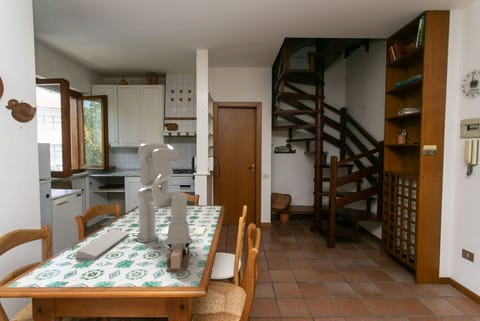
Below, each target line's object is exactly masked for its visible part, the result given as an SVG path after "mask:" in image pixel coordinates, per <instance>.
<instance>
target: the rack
mask: <svg viewBox="0 0 480 321" xmlns="http://www.w3.org/2000/svg"><path fill="white" fill-rule="evenodd" d="M190 250H191V248H190V246H188V247H187V248H186V255H185V256H184V258H183V260H182V263H181V266H180V268H178V269H171V254H172V250H171V249H170V254H168V255H167V258H166V269H165V271H166V272H186V271H187V269H188V265H189V261H190V258H191V257H190V256H191V251H190Z"/></svg>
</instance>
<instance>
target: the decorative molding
mask: <svg viewBox="0 0 480 321" xmlns="http://www.w3.org/2000/svg"><path fill="white" fill-rule="evenodd" d="M129 233H130V232H126V231H122V230H121V229H120V230H119V229H116V228H113V229H111V230H109V231H108V232H106V233H105V234H102V235H101V236H100V237H97V238H96V239H94V240H93V241H91V242H89V243H87V244H86V245H84V246H82V247H81V248H79V249H78V250H77V251H76V255H75V259H76V258H79V259H78V260H81V259H82V260H83V259H85V260H86V259H87V260H96V259H97V258H99V257H100V256H102V254H104V253H105V252H108V250H110V249H111V248H112V247H114V246H115V245H117V244H119V242H121V241H122V240H124V239H126V237H128V236H129ZM123 238H124V239H123ZM95 258H96V259H95Z"/></svg>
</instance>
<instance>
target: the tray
mask: <svg viewBox="0 0 480 321" xmlns="http://www.w3.org/2000/svg"><path fill="white" fill-rule="evenodd" d="M168 227H169V226H166V227H165V228H164V229H163V230H162V232H160V235H168ZM206 228H207V227H203V226H202V227H201V226H199V225H189V235H190V237H191V236H194V235H204V233H205V230H206Z"/></svg>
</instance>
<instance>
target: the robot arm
mask: <svg viewBox="0 0 480 321" xmlns="http://www.w3.org/2000/svg"><path fill="white" fill-rule="evenodd" d="M137 152H138V154H137V155H138V158H139V162H140V175H139V176H140V177H139V178H140V185H141V186H143V188H141V189H139V190H138V191H137V193H136V199H137V202H138V203H137V204H138V231H132V233H131V236H133V237H136V241H137V242H138V243H139V242H140V243H150V242H153V241H156V240H158V239H159V235H158V234H157V233H156V232H157V231H156V228H157V227H156V208H157V209H160V210H161V209H167V208H170V216H169V217H167V221H169V223H168V226H167V227H168V234H167V238H166V240H165V241H164V242H163V243H164V245H166V246H168V247H169V248H170V251H171V250H172V251H173V249H174V247H175V244H183V258H184V256H185V255H186V253H187V248H188V247H190V245H192V244H193V243H194V240H193V238H192V237H191V236H190V235H189V226H190V224H189V221H188V218H187V217H188V216H187V215H188V214H187V212H188V208H187V204H188V202H187V200H188V198H187V196H186V195H185V194H183V193H182V192H180V191H170V192H168V180H169V179H170V178H171V177H172V176H173V175H174V170H173V167H172V164H176V163H178V162H179V160H180V156H179V152H178V150H177V149H176V148H175V147H173V146H171V145H170V144H167V143H151V142H149V143H142V144H140V145H139V147H138V151H137ZM144 186H145V187H144ZM153 204H154V206H155V207H156V208H155V207H154V206H153Z"/></svg>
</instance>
